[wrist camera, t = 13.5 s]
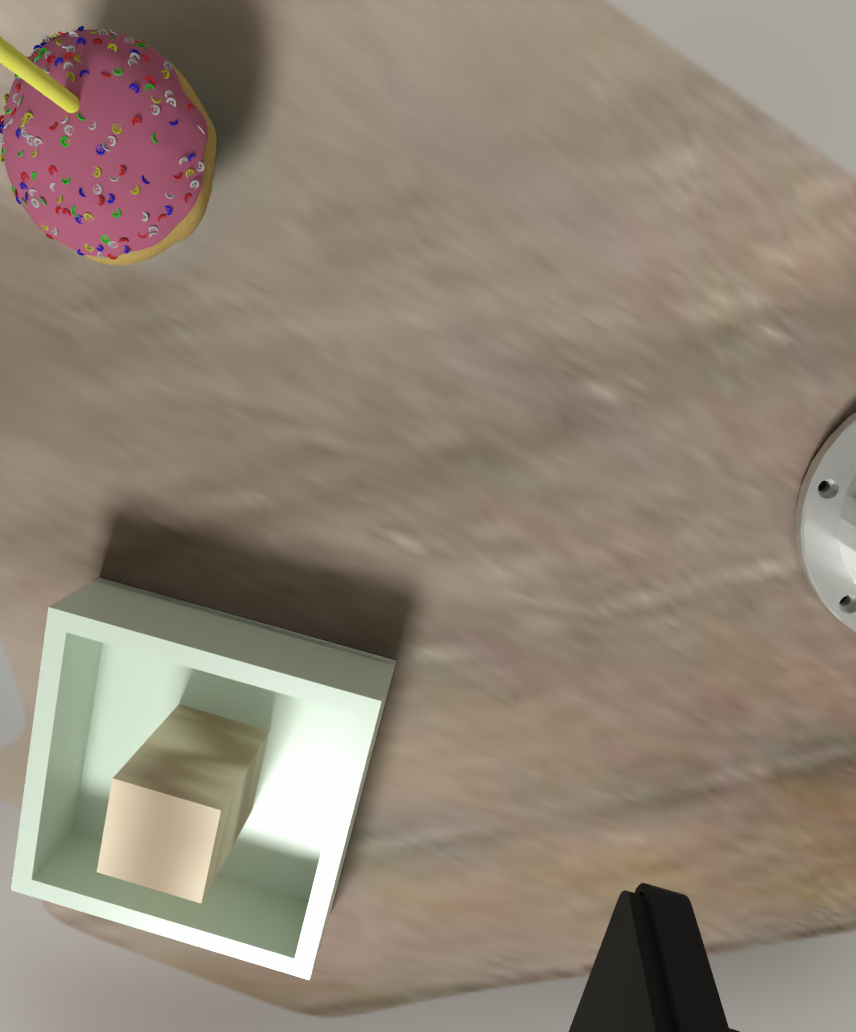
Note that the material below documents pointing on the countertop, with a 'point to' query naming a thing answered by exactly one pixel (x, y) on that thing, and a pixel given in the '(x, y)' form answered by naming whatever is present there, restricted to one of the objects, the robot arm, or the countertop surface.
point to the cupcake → (106, 145)
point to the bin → (220, 691)
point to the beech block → (182, 803)
